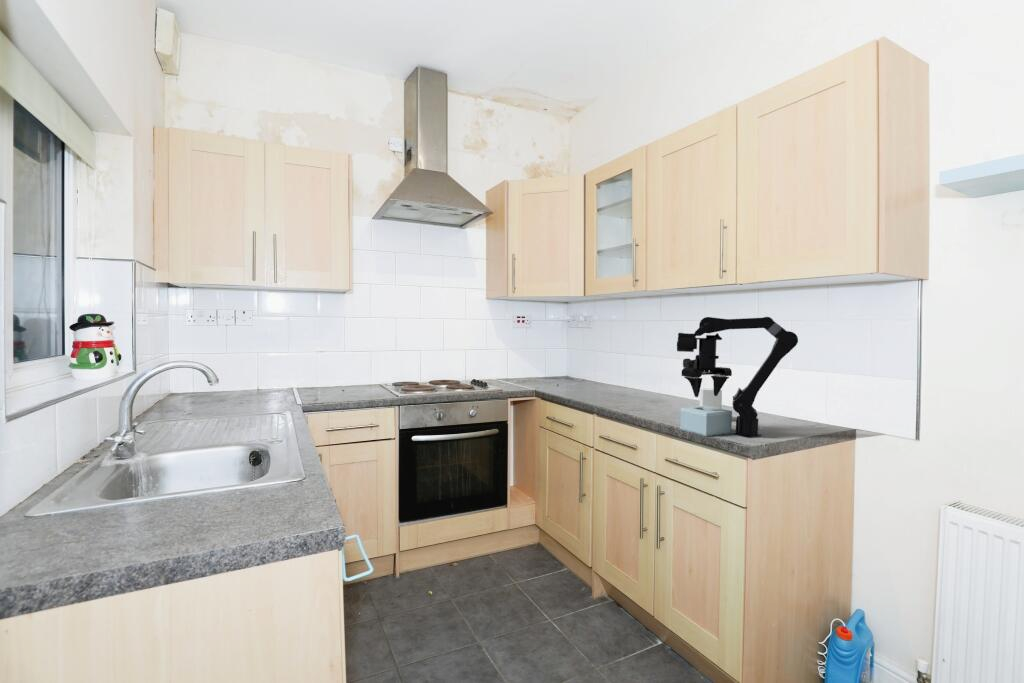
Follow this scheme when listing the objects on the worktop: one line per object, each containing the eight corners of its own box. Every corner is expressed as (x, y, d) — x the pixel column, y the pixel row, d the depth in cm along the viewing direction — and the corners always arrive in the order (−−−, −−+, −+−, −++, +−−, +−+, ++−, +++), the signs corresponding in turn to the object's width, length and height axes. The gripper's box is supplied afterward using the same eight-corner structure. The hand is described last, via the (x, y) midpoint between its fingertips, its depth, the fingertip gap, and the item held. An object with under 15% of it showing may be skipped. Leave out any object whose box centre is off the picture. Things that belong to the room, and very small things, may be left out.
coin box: (731, 433, 178) (731, 410, 178) (706, 436, 173) (706, 413, 173) (705, 427, 189) (705, 405, 189) (680, 429, 184) (680, 407, 184)
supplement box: (721, 422, 199) (722, 390, 199) (701, 421, 201) (702, 389, 200) (717, 419, 206) (718, 388, 206) (698, 418, 208) (699, 387, 208)
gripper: (709, 351, 191) (707, 392, 192) (670, 351, 183) (669, 394, 184) (733, 352, 181) (732, 396, 182) (694, 353, 173) (692, 398, 174)
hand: (706, 396), depth 181 cm, fingers open, 9 cm apart
